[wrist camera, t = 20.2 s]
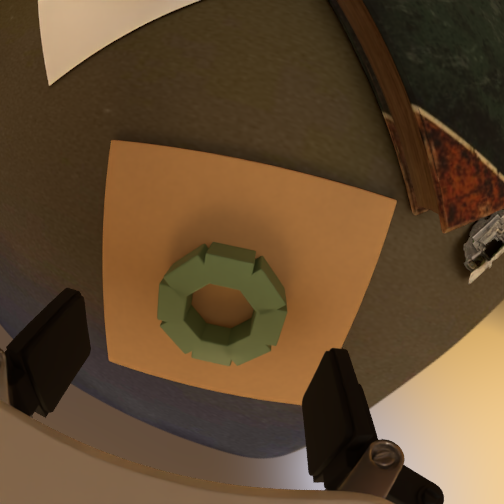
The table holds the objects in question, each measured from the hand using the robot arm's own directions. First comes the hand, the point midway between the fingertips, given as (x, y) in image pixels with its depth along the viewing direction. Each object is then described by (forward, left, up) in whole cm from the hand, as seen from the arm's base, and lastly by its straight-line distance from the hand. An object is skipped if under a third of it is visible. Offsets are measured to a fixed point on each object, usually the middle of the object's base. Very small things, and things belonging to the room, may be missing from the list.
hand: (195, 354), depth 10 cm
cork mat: (0, 0, -5) cm, 5 cm away
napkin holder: (-11, +19, -5) cm, 22 cm away
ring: (0, 0, -5) cm, 5 cm away
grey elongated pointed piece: (+14, +7, -4) cm, 16 cm away
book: (+14, +20, -5) cm, 25 cm away
